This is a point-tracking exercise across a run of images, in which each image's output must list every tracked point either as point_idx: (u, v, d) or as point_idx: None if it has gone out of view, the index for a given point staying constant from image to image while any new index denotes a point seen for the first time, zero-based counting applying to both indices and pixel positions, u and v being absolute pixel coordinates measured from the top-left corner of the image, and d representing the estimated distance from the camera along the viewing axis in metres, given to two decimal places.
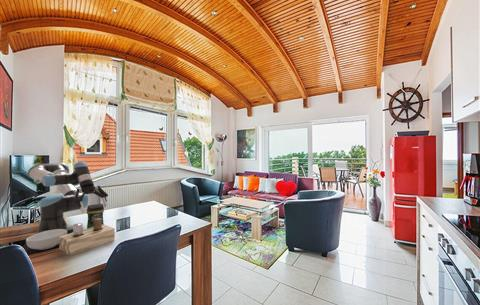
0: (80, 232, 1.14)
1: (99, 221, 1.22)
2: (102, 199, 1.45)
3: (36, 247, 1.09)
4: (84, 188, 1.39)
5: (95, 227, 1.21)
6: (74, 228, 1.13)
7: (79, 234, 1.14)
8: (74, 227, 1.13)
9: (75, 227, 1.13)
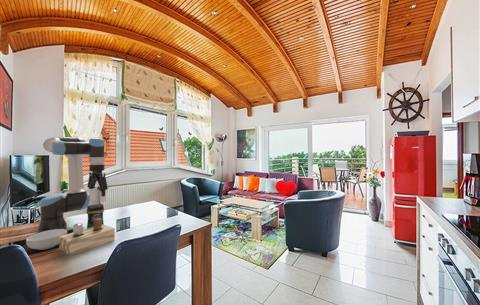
0: (80, 232, 1.14)
1: (99, 221, 1.22)
2: None
3: (36, 247, 1.09)
4: (92, 173, 1.24)
5: (95, 227, 1.21)
6: (74, 228, 1.13)
7: (79, 234, 1.14)
8: (74, 227, 1.13)
9: (75, 227, 1.13)
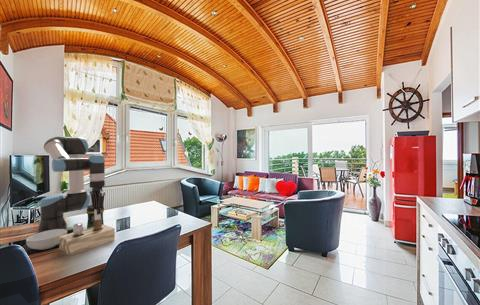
0: (80, 232, 1.14)
1: (99, 222, 1.22)
2: None
3: (36, 247, 1.09)
4: (92, 189, 1.24)
5: (95, 228, 1.21)
6: (74, 228, 1.13)
7: (79, 234, 1.14)
8: (74, 227, 1.13)
9: (75, 227, 1.13)
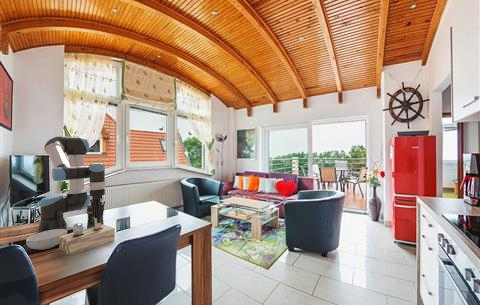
0: (80, 232, 1.14)
1: None
2: None
3: (36, 247, 1.09)
4: (93, 197, 1.24)
5: None
6: (74, 228, 1.13)
7: (79, 234, 1.14)
8: (74, 227, 1.13)
9: (75, 227, 1.13)
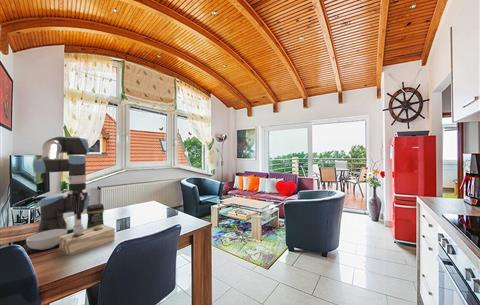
0: (80, 233, 1.14)
1: None
2: None
3: (36, 247, 1.09)
4: (72, 192, 1.15)
5: None
6: (74, 229, 1.13)
7: (79, 235, 1.14)
8: (74, 228, 1.13)
9: (75, 228, 1.13)
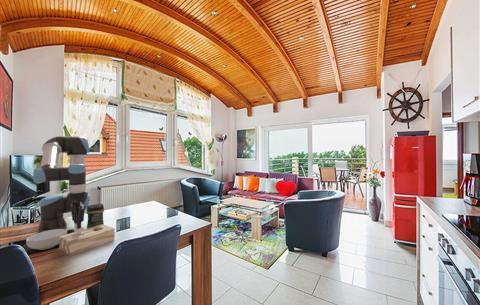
0: None
1: None
2: None
3: (36, 247, 1.09)
4: (73, 201, 1.15)
5: None
6: None
7: None
8: None
9: (75, 237, 1.13)
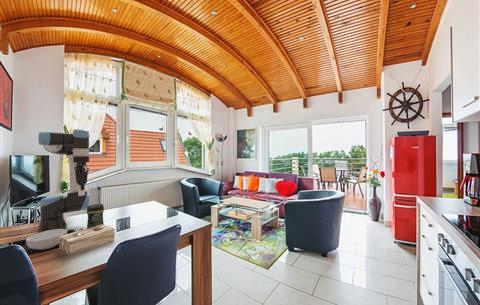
0: None
1: None
2: None
3: (36, 247, 1.09)
4: (77, 164, 1.22)
5: None
6: None
7: None
8: None
9: (75, 237, 1.13)
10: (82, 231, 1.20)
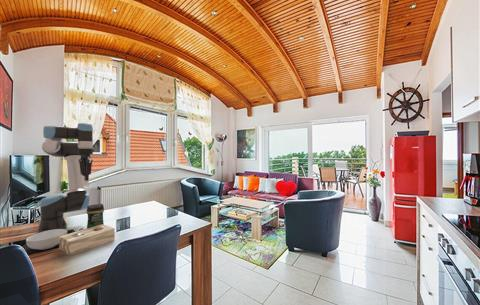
0: None
1: None
2: None
3: (36, 247, 1.09)
4: (81, 156, 1.29)
5: None
6: None
7: None
8: None
9: (75, 237, 1.13)
10: (82, 231, 1.20)
